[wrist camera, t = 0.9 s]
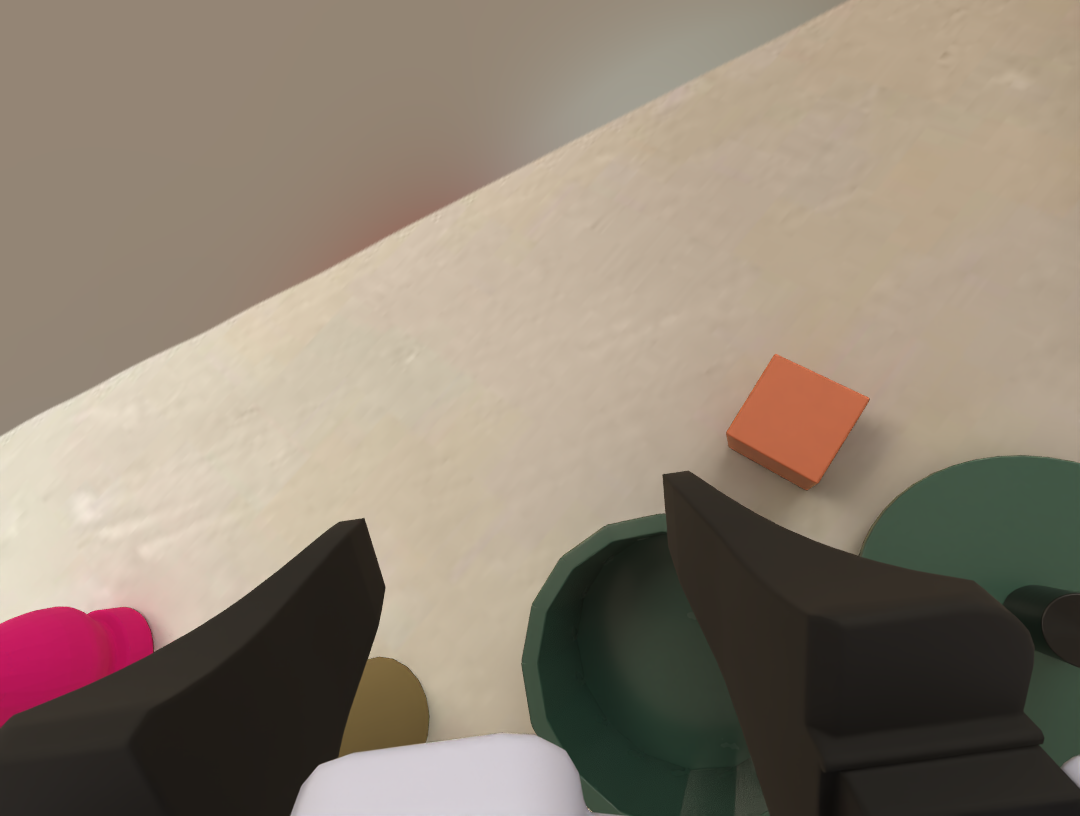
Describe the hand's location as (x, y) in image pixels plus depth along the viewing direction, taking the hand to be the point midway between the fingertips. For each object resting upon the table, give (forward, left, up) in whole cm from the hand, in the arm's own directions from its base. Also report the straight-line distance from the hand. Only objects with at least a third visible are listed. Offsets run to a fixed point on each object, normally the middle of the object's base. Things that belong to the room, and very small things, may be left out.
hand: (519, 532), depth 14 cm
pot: (-5, +3, -16) cm, 17 cm away
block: (-4, -8, -16) cm, 18 cm away
